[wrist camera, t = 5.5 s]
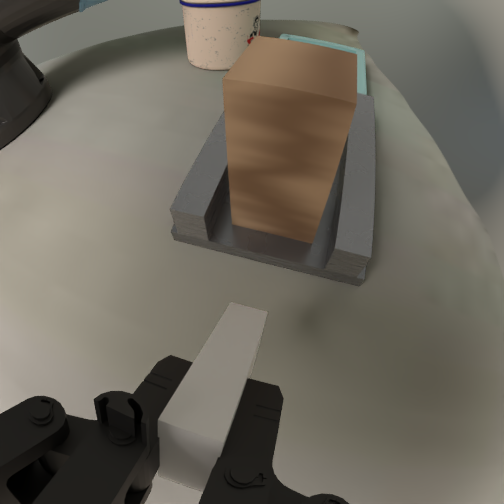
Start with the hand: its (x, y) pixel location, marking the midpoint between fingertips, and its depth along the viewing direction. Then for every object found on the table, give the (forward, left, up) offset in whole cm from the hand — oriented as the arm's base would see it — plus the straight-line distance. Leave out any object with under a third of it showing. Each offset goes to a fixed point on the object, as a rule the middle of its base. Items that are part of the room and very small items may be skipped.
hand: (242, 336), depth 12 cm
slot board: (0, +14, -5) cm, 15 cm away
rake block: (0, +10, -4) cm, 10 cm away
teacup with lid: (-12, +33, -5) cm, 35 cm away
